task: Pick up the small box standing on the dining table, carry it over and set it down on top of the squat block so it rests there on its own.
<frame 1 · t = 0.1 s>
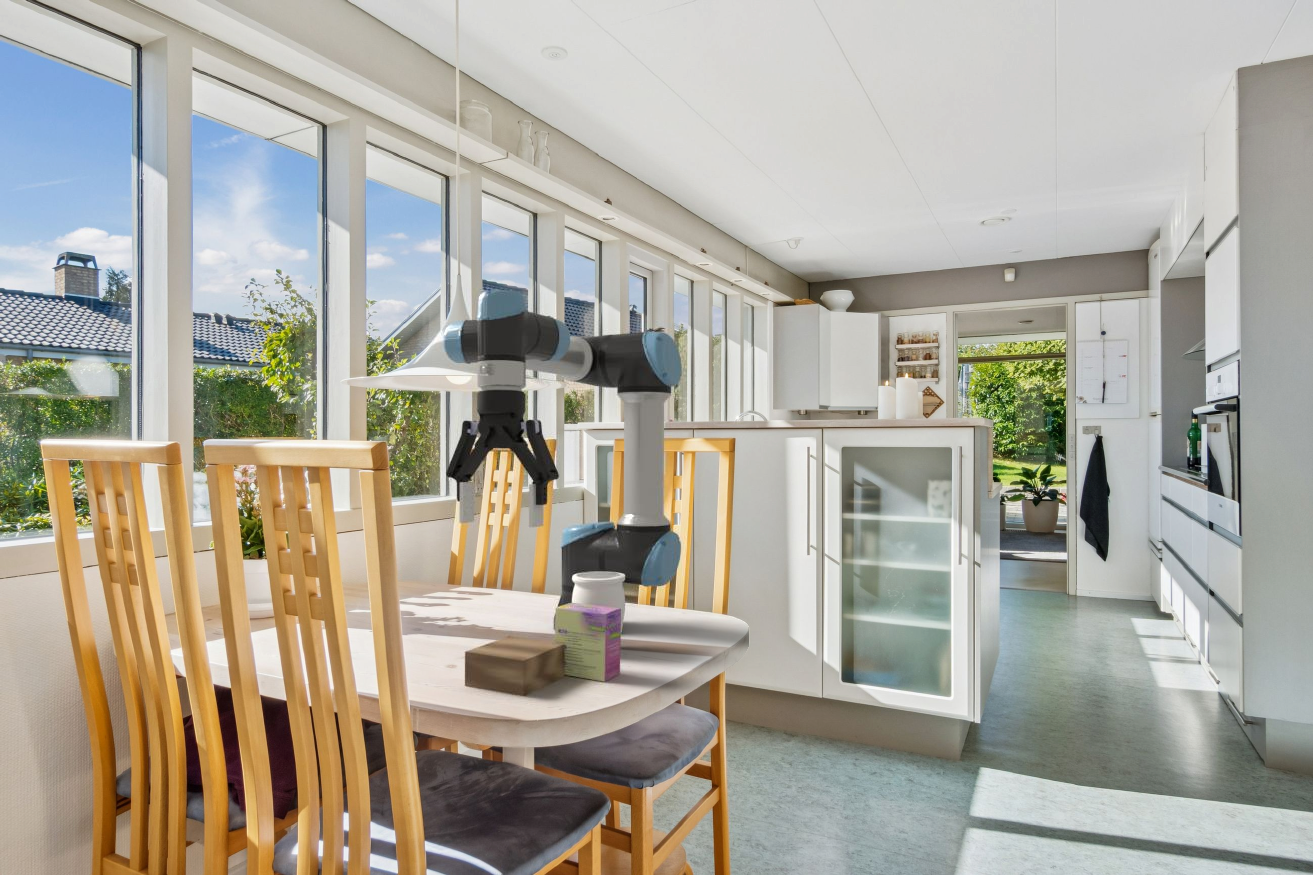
hand: (500, 524, 122), 28 cm above the table, tool pointing down, fingers open, 13 cm apart
jar: (598, 652, 153), on the table
box: (587, 675, 137), on the table
base block: (515, 682, 133), on the table
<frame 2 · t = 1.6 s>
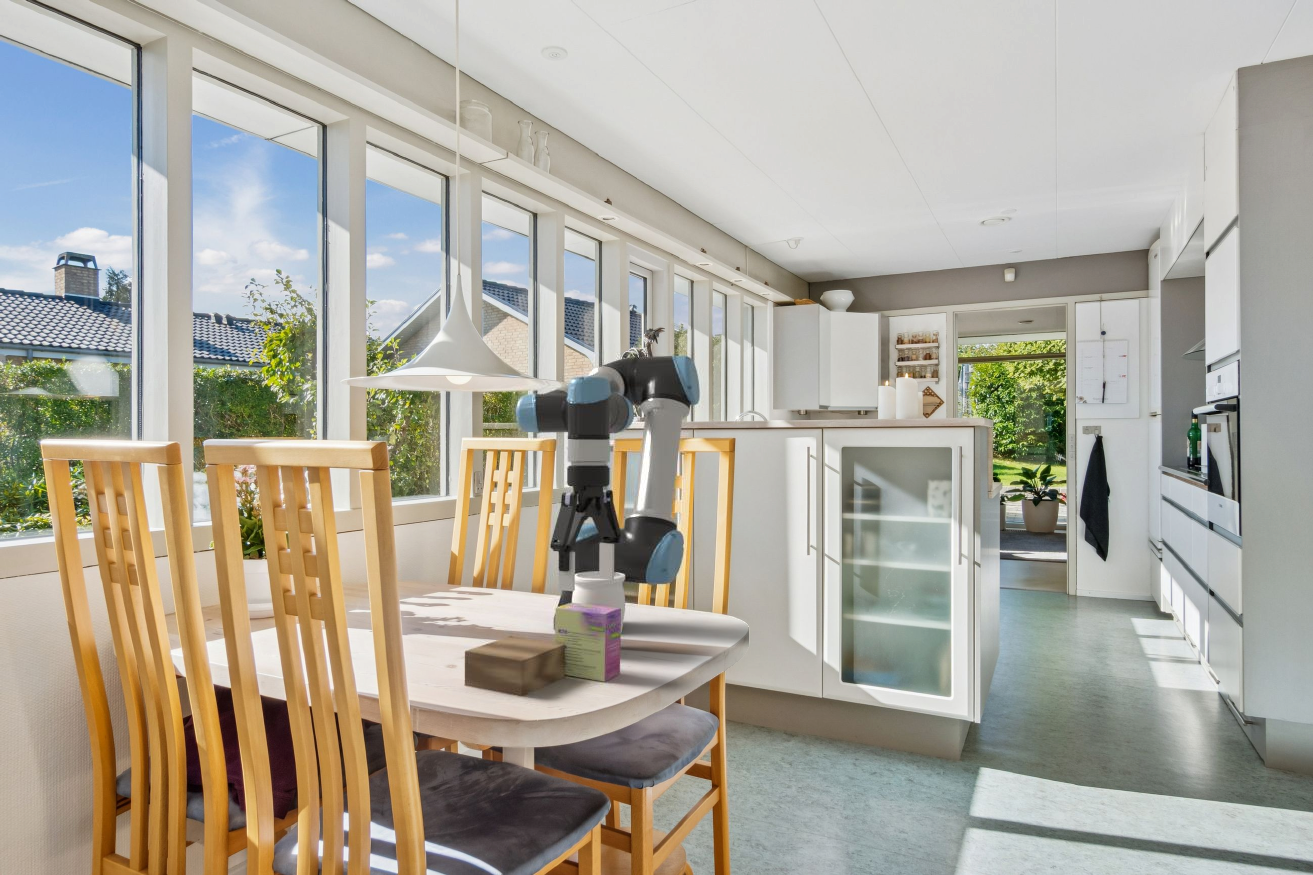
hand: (587, 584, 137), 16 cm above the table, tool pointing down, fingers open, 13 cm apart
nothing on the table moved.
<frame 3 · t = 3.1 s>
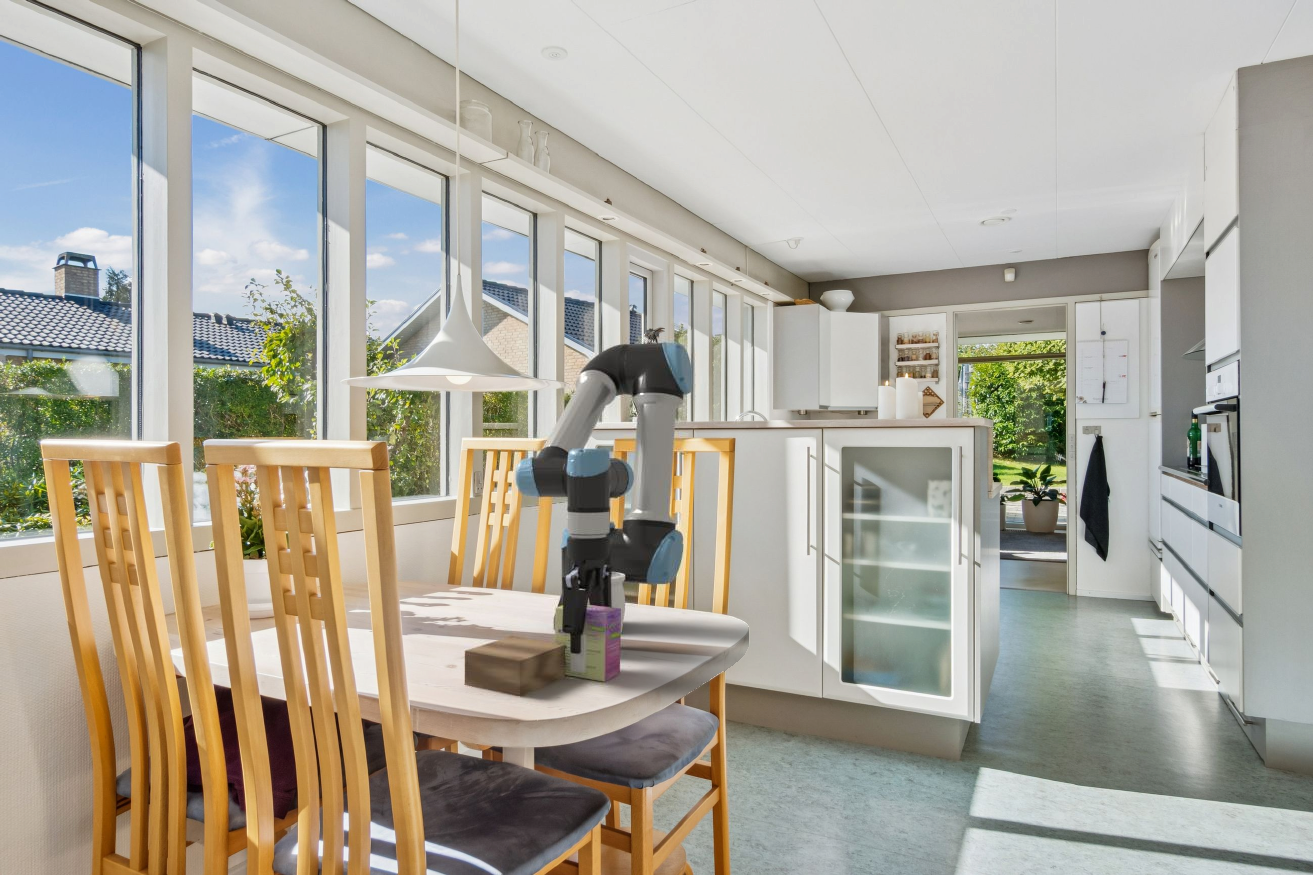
hand: (587, 666, 137), 1 cm above the table, tool pointing down, fingers closed on box, 6 cm apart
box: (587, 675, 137), on the table, touching gripper
everything else where it was.
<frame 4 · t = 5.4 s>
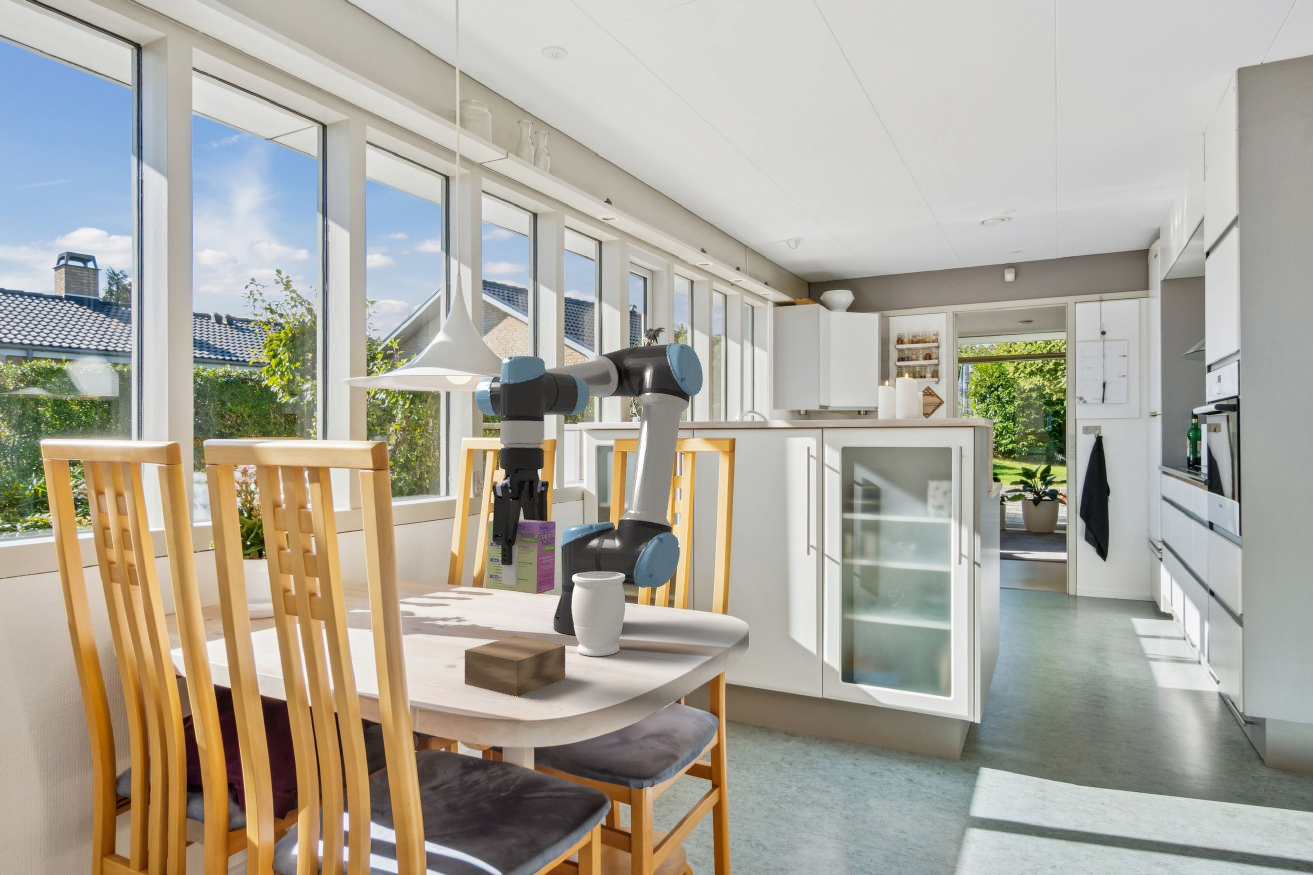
hand: (520, 581, 133), 17 cm above the table, tool pointing down, fingers closed on box, 6 cm apart
box: (521, 590, 133), point 15 cm above the table, touching gripper
everything else where it was.
when the fingers open (9 cm above the table, at t = 7.2 s): box drops 2 cm, point 5 cm above the table.
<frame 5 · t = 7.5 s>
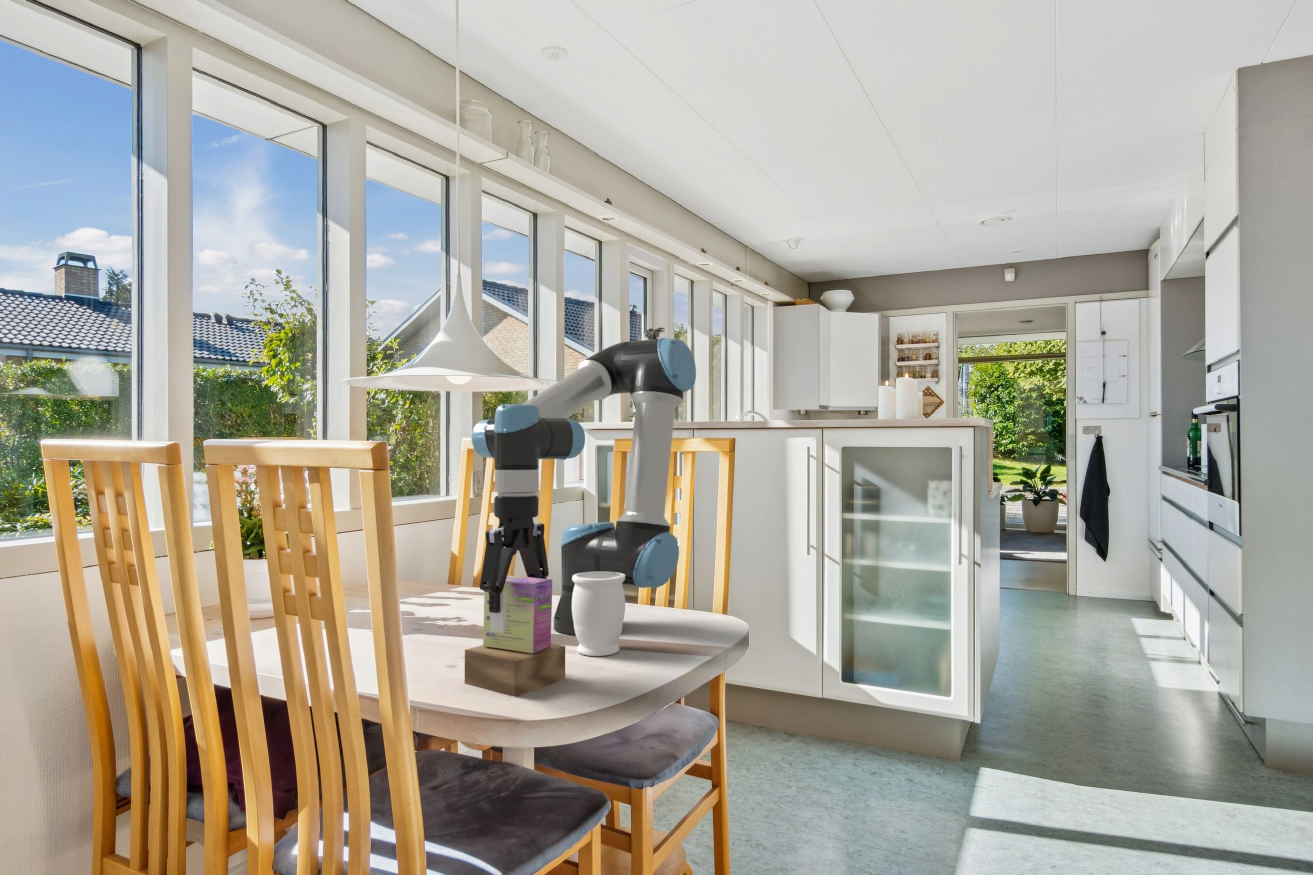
hand: (515, 625, 133), 10 cm above the table, tool pointing down, fingers open, 9 cm apart
box: (517, 648, 134), point 5 cm above the table
everything else where it was.
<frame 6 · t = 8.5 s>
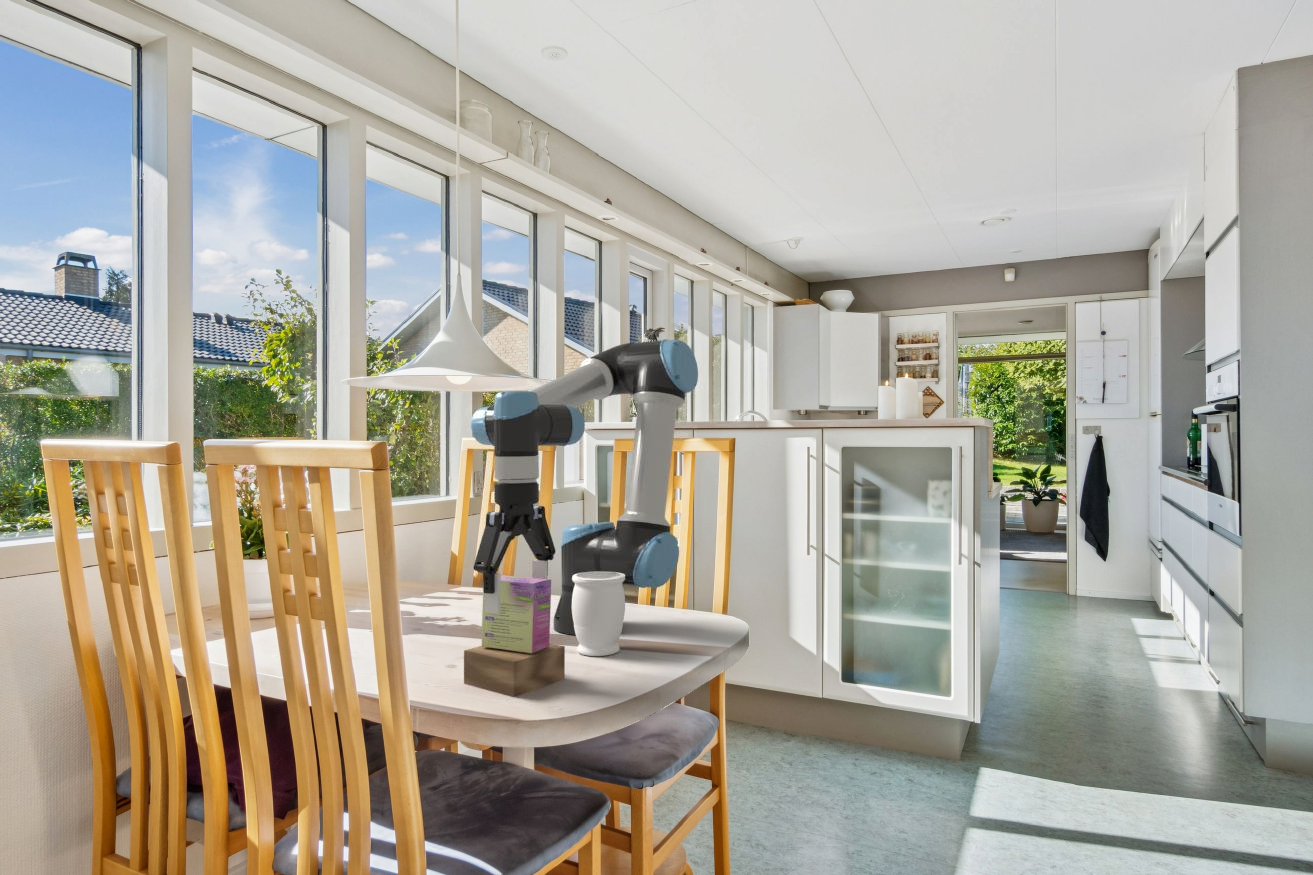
hand: (517, 604, 134), 13 cm above the table, tool pointing down, fingers open, 13 cm apart
nothing on the table moved.
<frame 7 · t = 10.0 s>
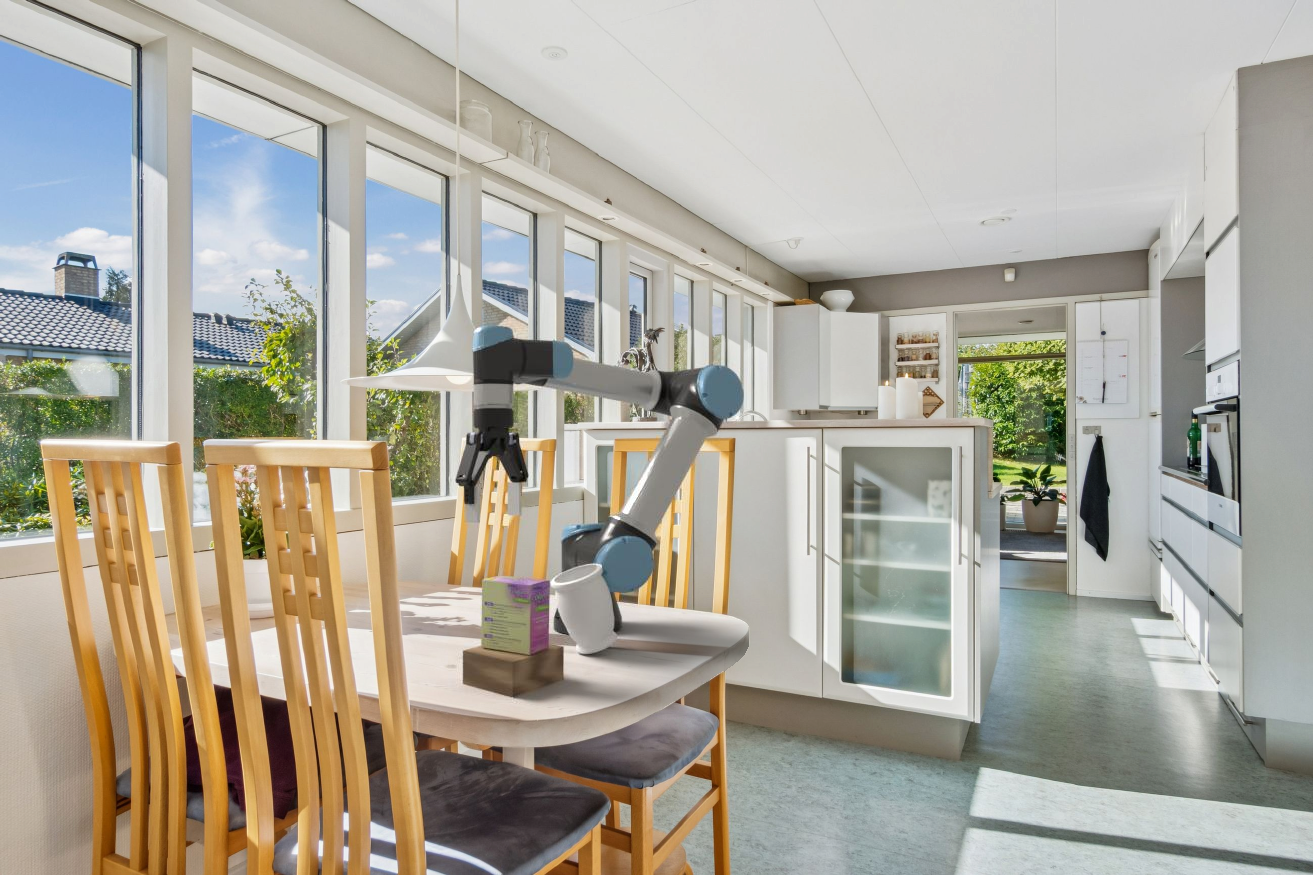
hand: (494, 518, 148), 26 cm above the table, tool pointing down, fingers open, 13 cm apart
jar: (597, 645, 152), point 1 cm above the table
box: (515, 649, 133), point 5 cm above the table, touching base block
base block: (513, 683, 133), on the table, touching box
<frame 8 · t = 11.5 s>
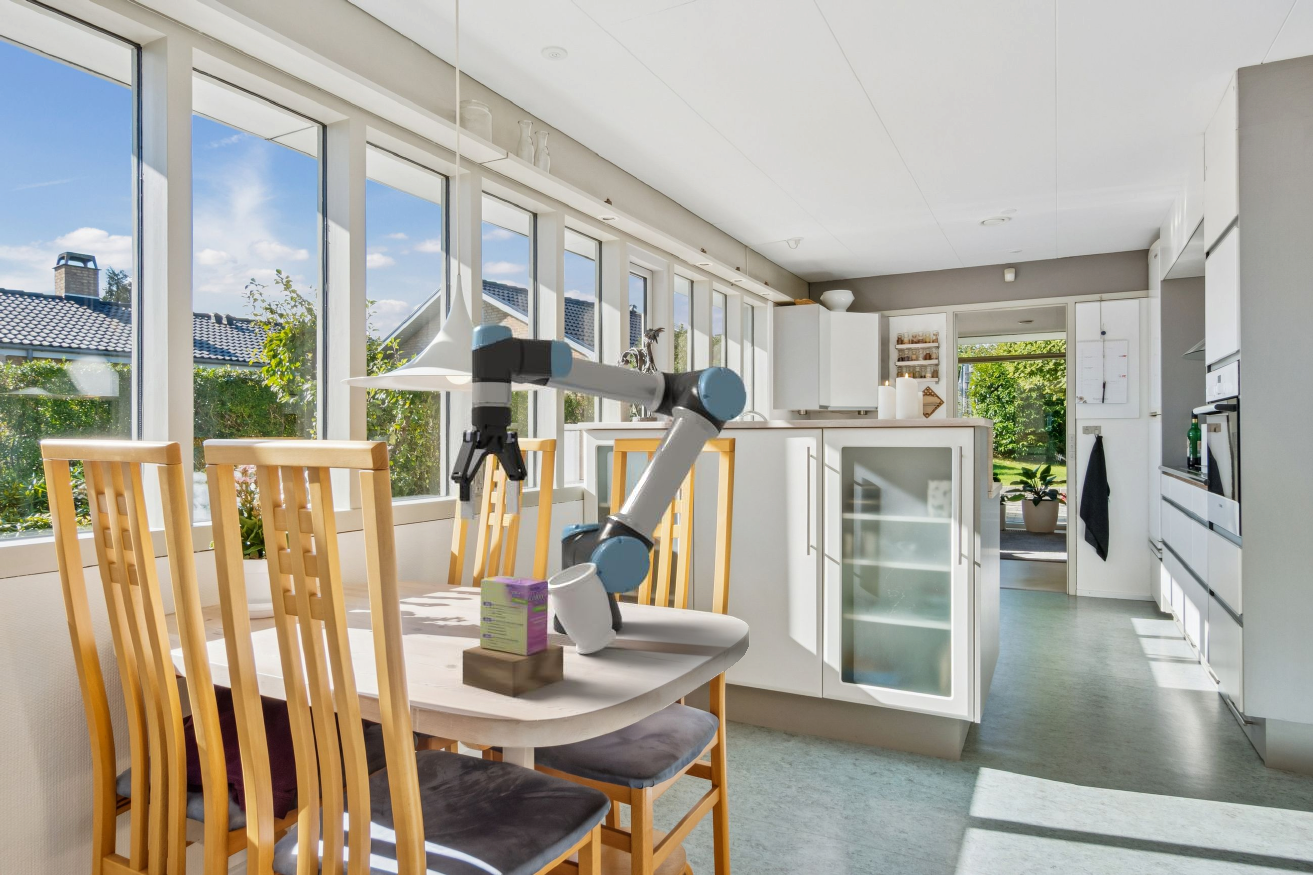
hand: (490, 516, 149), 27 cm above the table, tool pointing down, fingers open, 13 cm apart
jar: (597, 644, 152), point 1 cm above the table, touching arm
everything else where it was.
at the end: box inside the target area on the base block (0.1 cm from its centre), point 5.8 cm above the base block's base; box tilted 0°; the gripper is holding nothing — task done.
